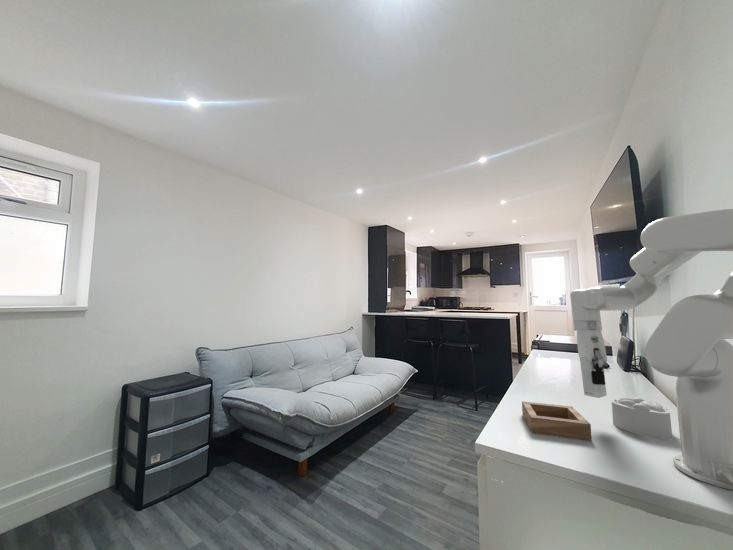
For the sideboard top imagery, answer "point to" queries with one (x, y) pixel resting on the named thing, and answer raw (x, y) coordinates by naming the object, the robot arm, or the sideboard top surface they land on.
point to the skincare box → (590, 380)
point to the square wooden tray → (556, 420)
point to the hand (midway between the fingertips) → (593, 381)
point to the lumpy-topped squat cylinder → (642, 417)
